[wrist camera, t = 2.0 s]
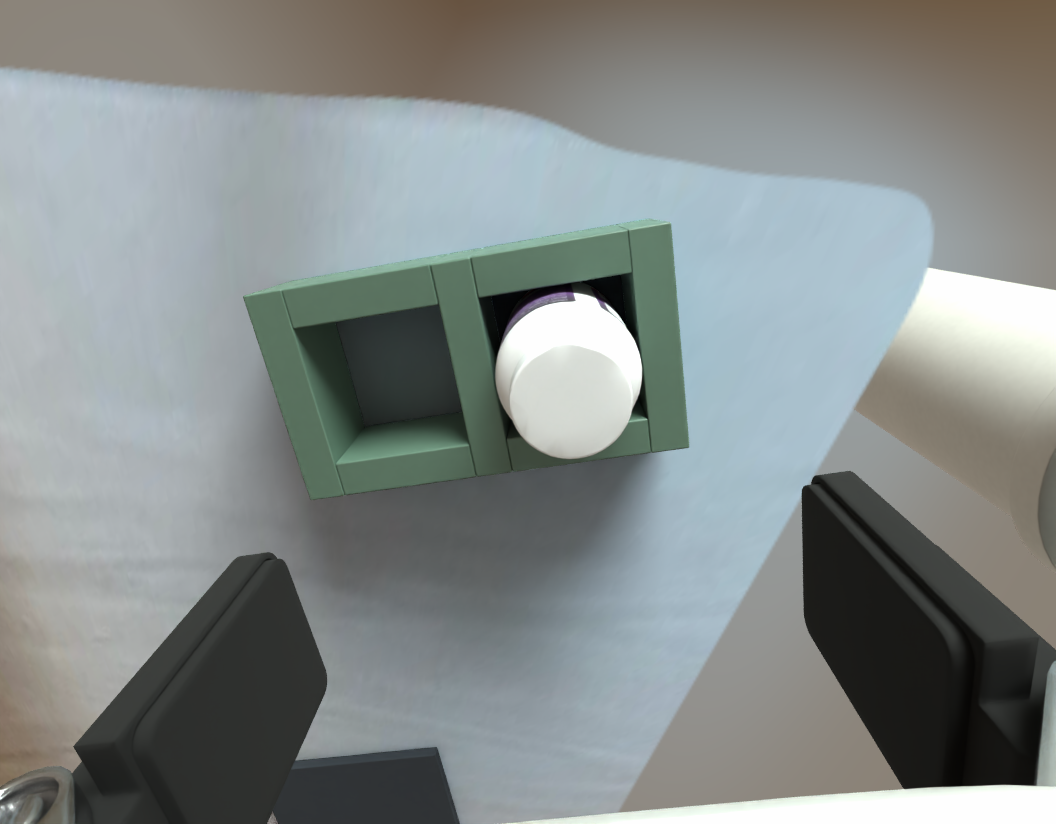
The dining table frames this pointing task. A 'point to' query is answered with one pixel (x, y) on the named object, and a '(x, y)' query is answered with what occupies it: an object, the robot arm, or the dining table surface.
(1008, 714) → the robot arm
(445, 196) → the dining table surface
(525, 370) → the pill bottle
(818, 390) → the dining table surface
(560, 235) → the open bin with compartments
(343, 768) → the mat
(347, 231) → the dining table surface
